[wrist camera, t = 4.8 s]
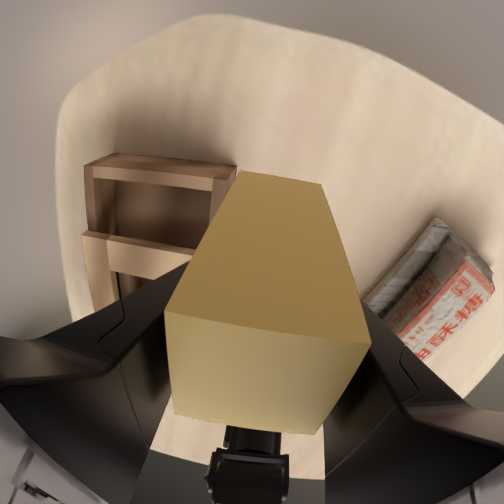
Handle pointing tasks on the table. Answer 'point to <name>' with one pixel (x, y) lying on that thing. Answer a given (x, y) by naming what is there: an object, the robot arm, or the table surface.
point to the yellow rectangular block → (266, 312)
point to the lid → (125, 262)
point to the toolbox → (154, 201)
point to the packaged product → (432, 290)
